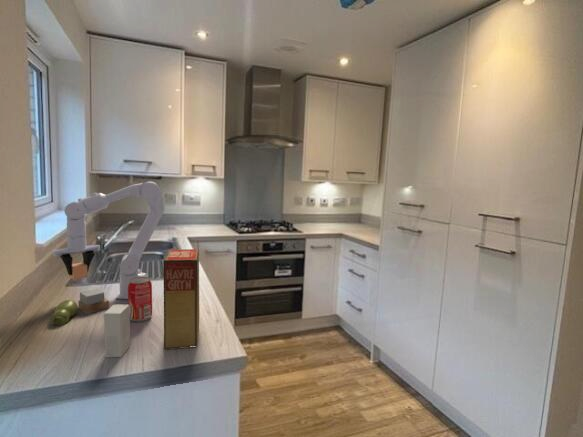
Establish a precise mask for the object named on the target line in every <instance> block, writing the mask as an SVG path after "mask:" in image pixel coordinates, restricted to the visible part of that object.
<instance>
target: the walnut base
mask: <svg viewBox="0 0 583 437" xmlns="http://www.w3.org/2000/svg"><path fill="white" fill-rule="evenodd" d="M77 305H78V309H79V310H81V311H82V312H83V313H85V314H87V315H88V314H92V313H96V312H99V311H103V310H106V309H107V310H108V309H110V300H109V299H106V297H104V301H102V302H98V303H94V304H90V305H86V304H84V303H83V302H81V301H80V299H79V300H78V304H77Z"/></svg>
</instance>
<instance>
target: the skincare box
mask: <svg viewBox="0 0 583 437" xmlns="http://www.w3.org/2000/svg"><path fill="white" fill-rule="evenodd" d="M103 321H104V324H103V326H104V328H103V329H104V352H105V353H104V355H105V356H108V357H107V358H122V357H123V356H124V354H125V353H126V352H127V351H128V349H129V348H130V347H131V327H130V326H131V324H130V322H131V320H130V312H129V305H128V304H112V306H111V307H109V308H107V310H106V311H105V312H104V313H103Z"/></svg>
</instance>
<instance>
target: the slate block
mask: <svg viewBox="0 0 583 437" xmlns="http://www.w3.org/2000/svg"><path fill="white" fill-rule="evenodd" d="M104 298H105V291H102V290H101V289H99V288H92V289H89V290H84V291H81V292H80V291H79V300H80V301H81V302H83V303H84V304H86V305H90V304H94V303H98V302H102V301H104Z"/></svg>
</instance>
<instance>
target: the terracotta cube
mask: <svg viewBox="0 0 583 437" xmlns="http://www.w3.org/2000/svg"><path fill="white" fill-rule="evenodd" d="M88 277H89V276H88V272H87V265H86V264H84V262H79V263H72V275H69V274H68V278H70V279H71V280H73V281H77V280H81V279H85V278H88Z"/></svg>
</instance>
